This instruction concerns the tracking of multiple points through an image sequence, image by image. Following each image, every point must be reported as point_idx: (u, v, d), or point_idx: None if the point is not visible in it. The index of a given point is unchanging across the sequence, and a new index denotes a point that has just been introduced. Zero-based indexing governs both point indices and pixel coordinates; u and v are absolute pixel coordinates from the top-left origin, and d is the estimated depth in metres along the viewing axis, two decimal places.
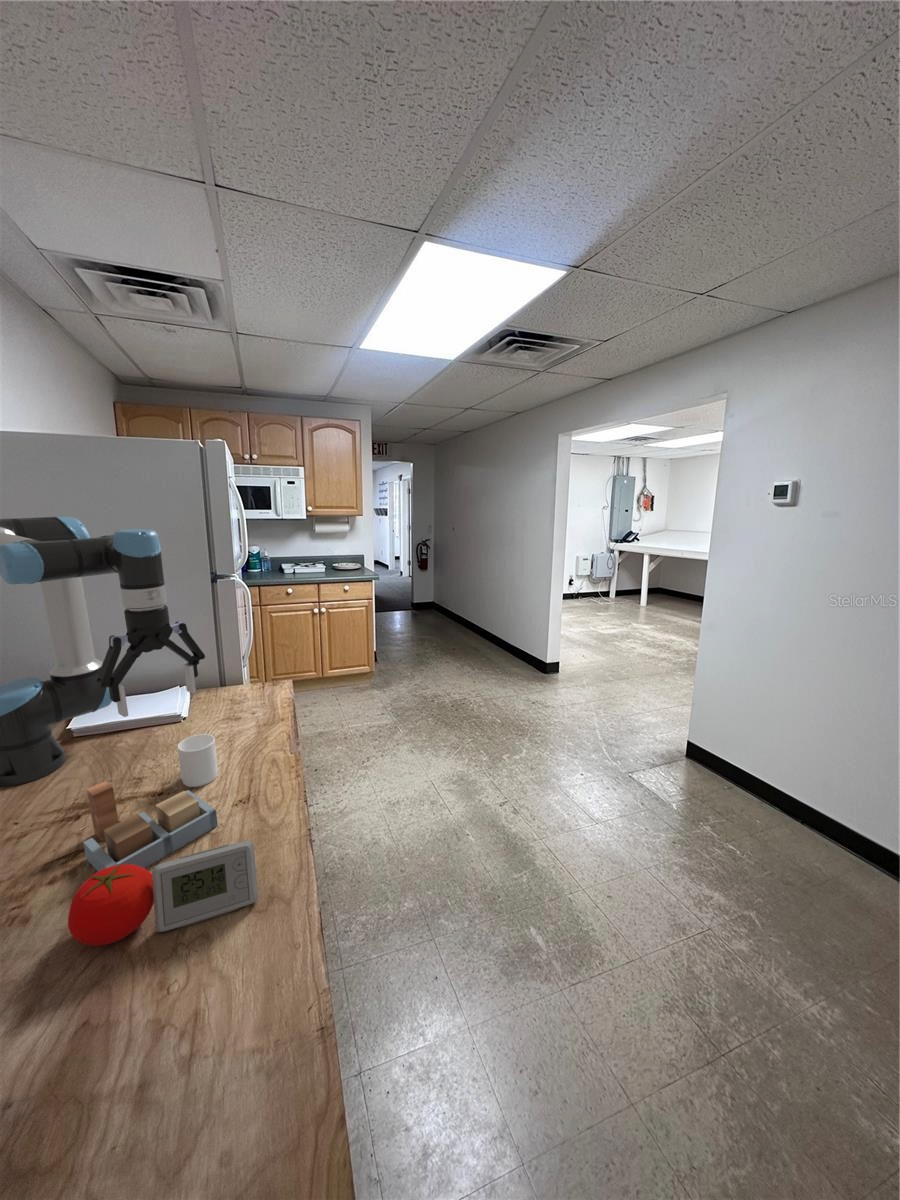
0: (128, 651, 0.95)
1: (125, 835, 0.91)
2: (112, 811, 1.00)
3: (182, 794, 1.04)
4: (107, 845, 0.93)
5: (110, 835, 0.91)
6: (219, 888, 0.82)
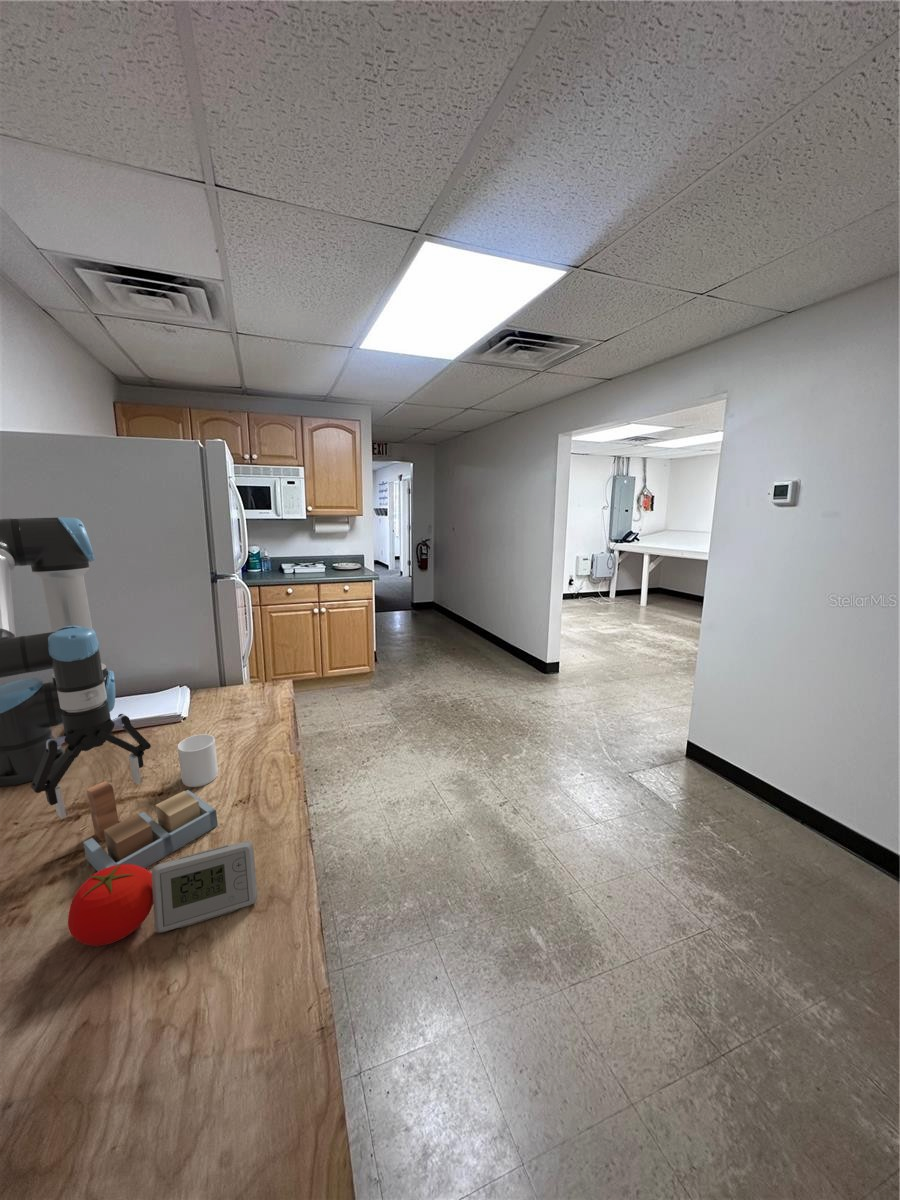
0: (66, 751, 0.94)
1: (125, 835, 0.91)
2: (112, 811, 1.00)
3: (182, 794, 1.04)
4: (107, 845, 0.93)
5: (110, 835, 0.91)
6: (218, 889, 0.82)
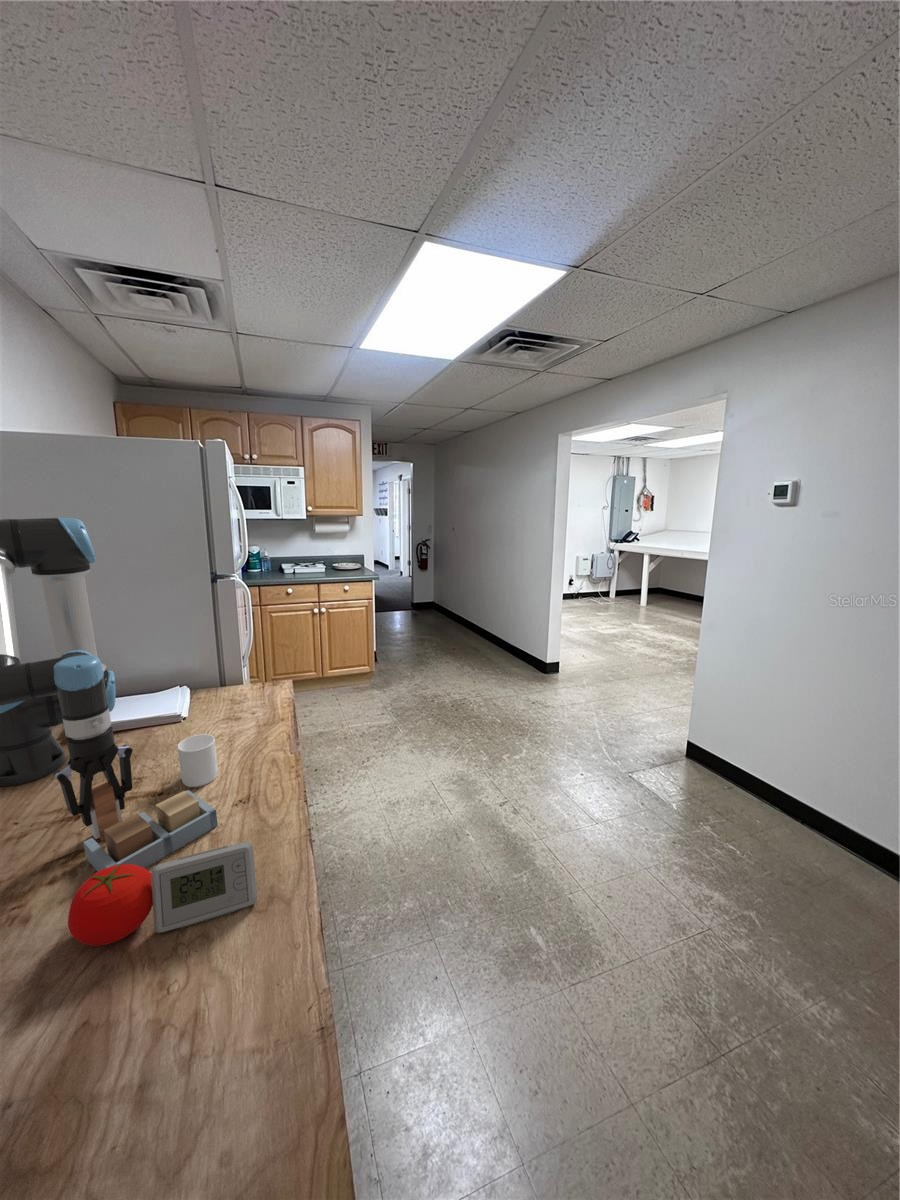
0: (81, 778, 0.96)
1: (125, 835, 0.91)
2: (112, 811, 1.00)
3: (182, 794, 1.04)
4: (107, 845, 0.93)
5: (110, 835, 0.91)
6: (218, 890, 0.82)
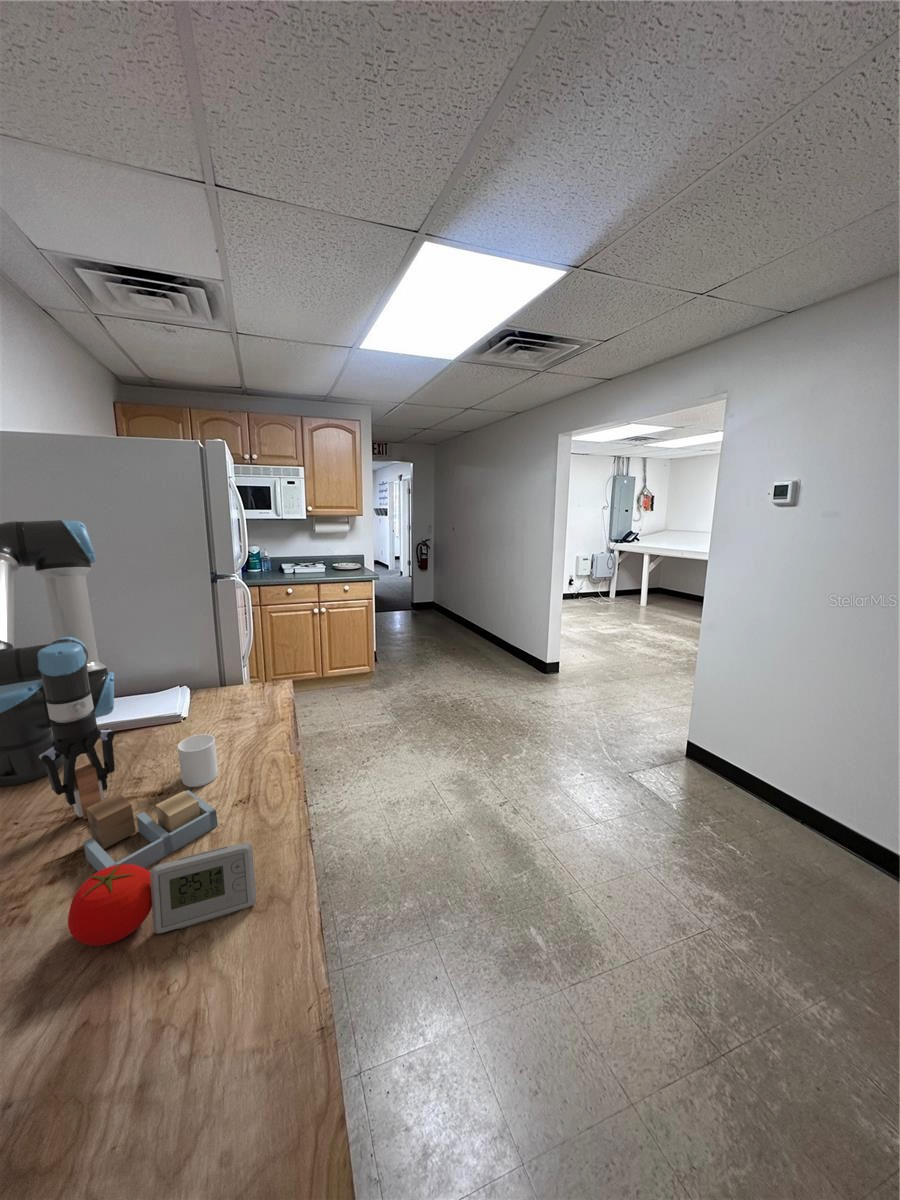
0: (65, 759, 1.01)
1: (106, 813, 0.96)
2: (94, 791, 1.05)
3: (182, 794, 1.04)
4: (89, 822, 0.98)
5: (92, 813, 0.96)
6: (217, 891, 0.82)
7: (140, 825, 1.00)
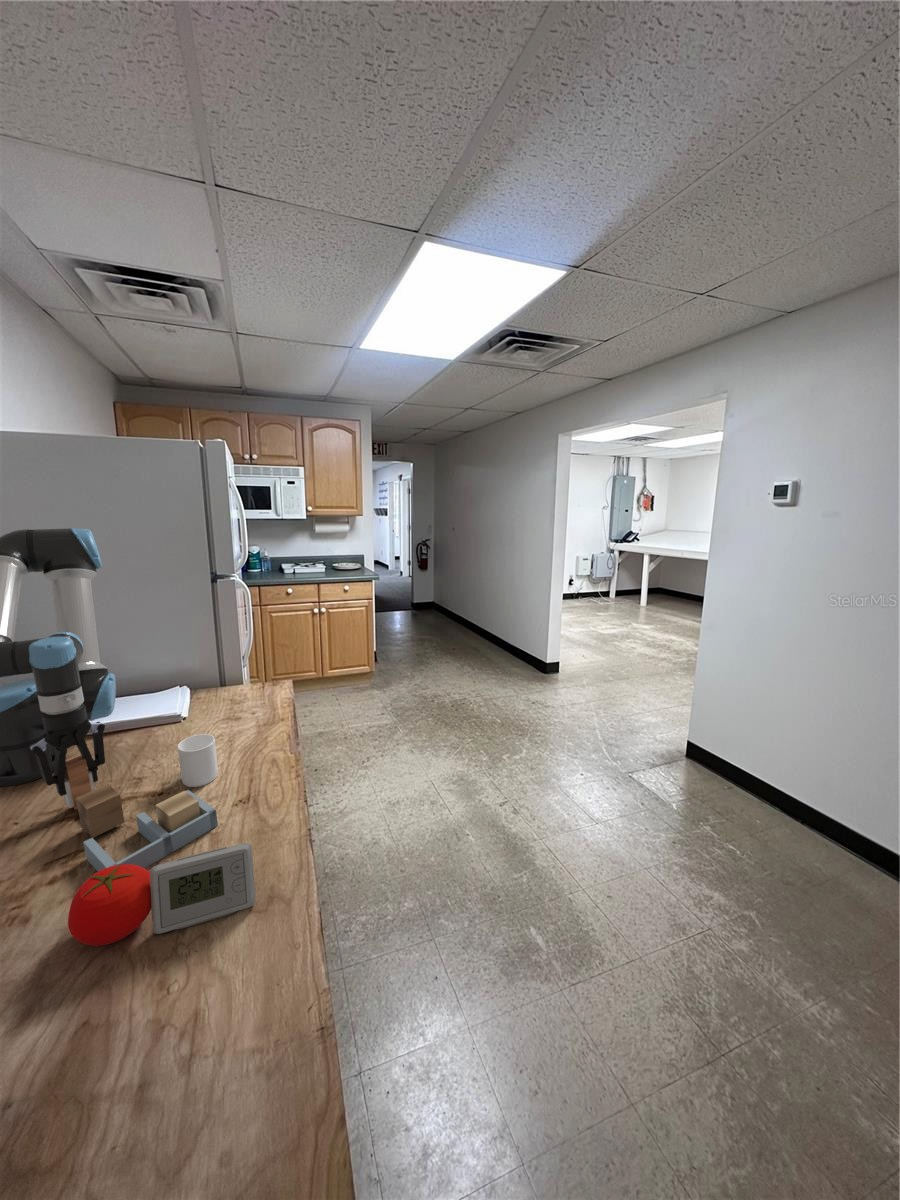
0: (56, 750, 1.04)
1: (95, 802, 0.99)
2: (85, 782, 1.07)
3: (182, 794, 1.04)
4: (79, 812, 1.00)
5: (81, 802, 0.99)
6: (216, 891, 0.82)
7: (140, 825, 1.00)
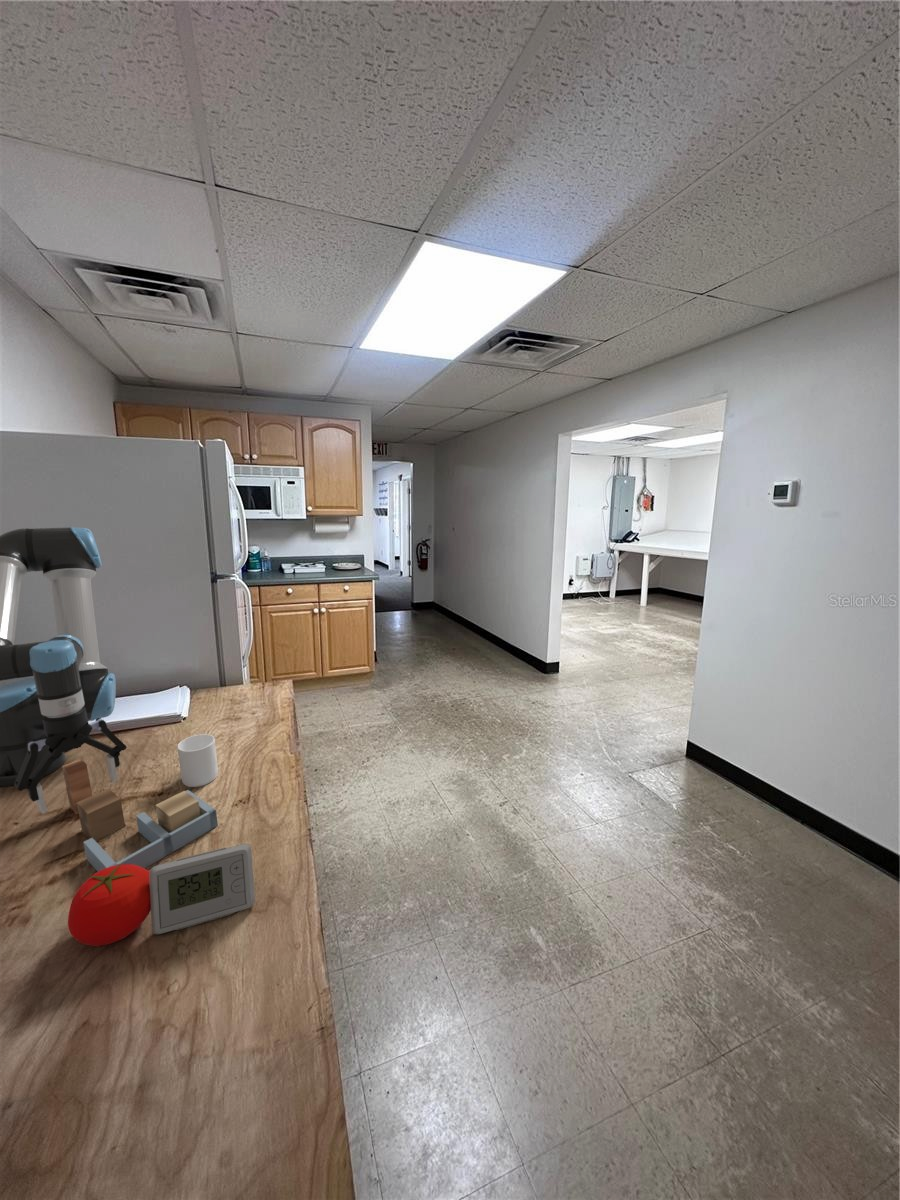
0: (47, 752, 1.03)
1: (96, 807, 0.99)
2: (86, 786, 1.08)
3: (182, 794, 1.04)
4: (80, 816, 1.01)
5: (82, 807, 0.99)
6: (216, 892, 0.82)
7: (140, 825, 1.00)
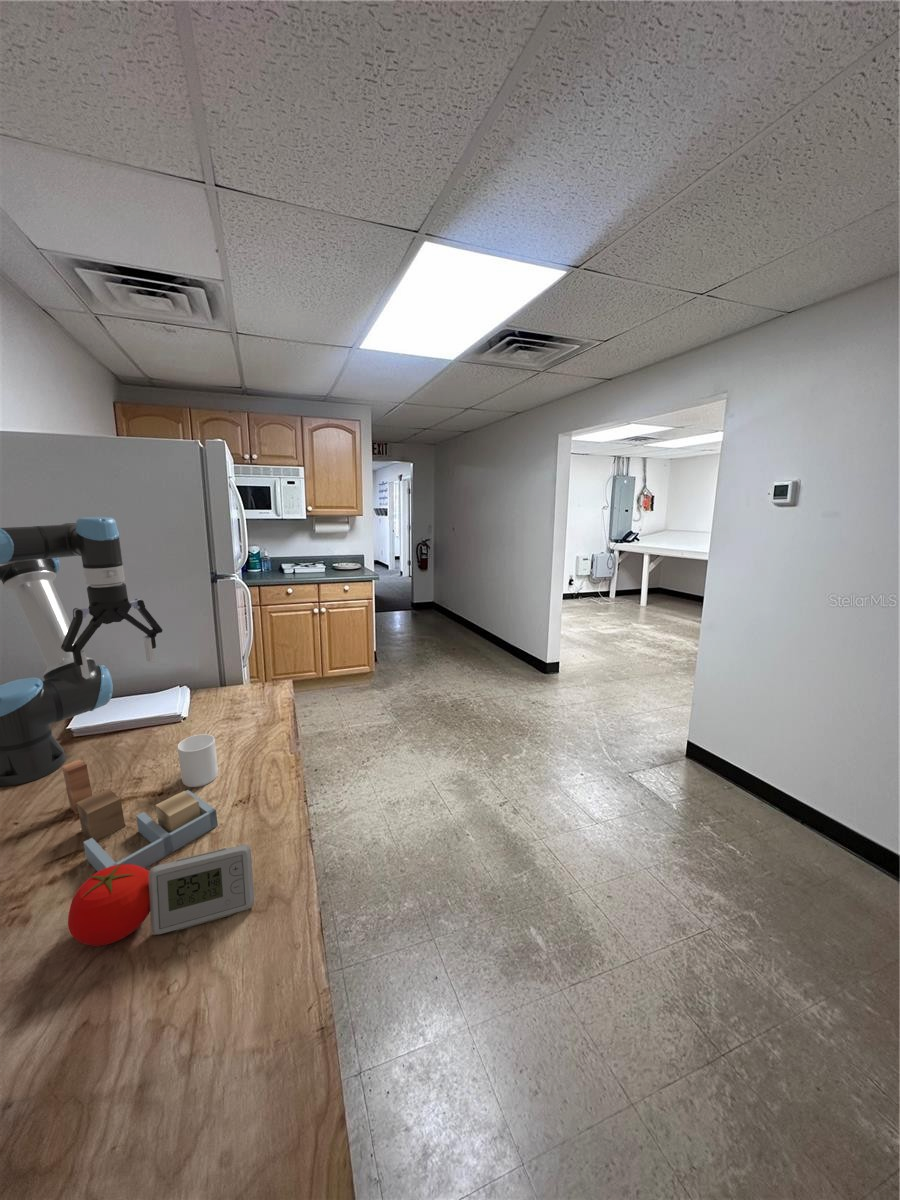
0: (90, 622, 1.10)
1: (96, 807, 0.99)
2: (86, 786, 1.08)
3: (182, 794, 1.04)
4: (80, 816, 1.01)
5: (82, 807, 0.99)
6: (215, 893, 0.81)
7: (140, 825, 1.00)
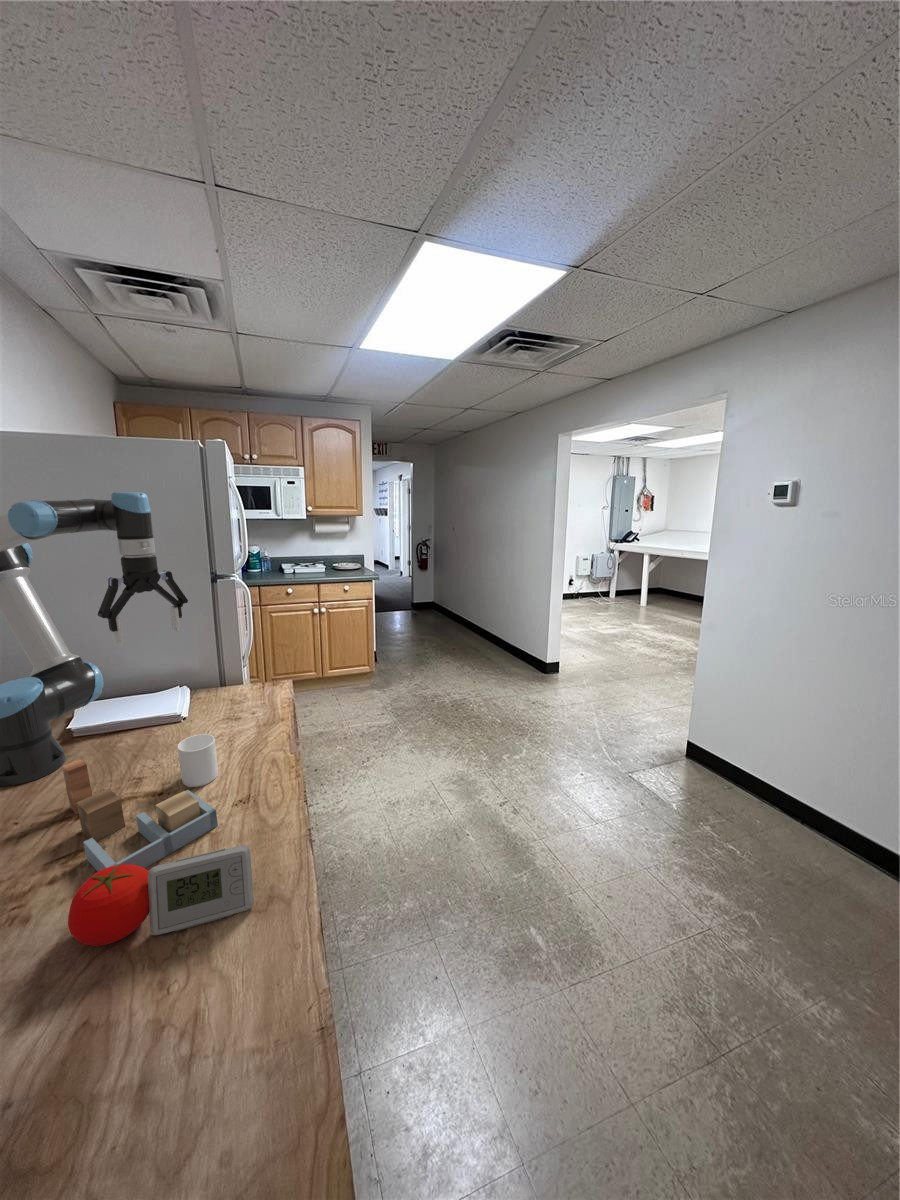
0: (124, 591, 1.17)
1: (96, 807, 0.99)
2: (86, 786, 1.08)
3: (182, 794, 1.04)
4: (80, 816, 1.01)
5: (82, 807, 0.99)
6: (214, 893, 0.81)
7: (140, 825, 1.00)
